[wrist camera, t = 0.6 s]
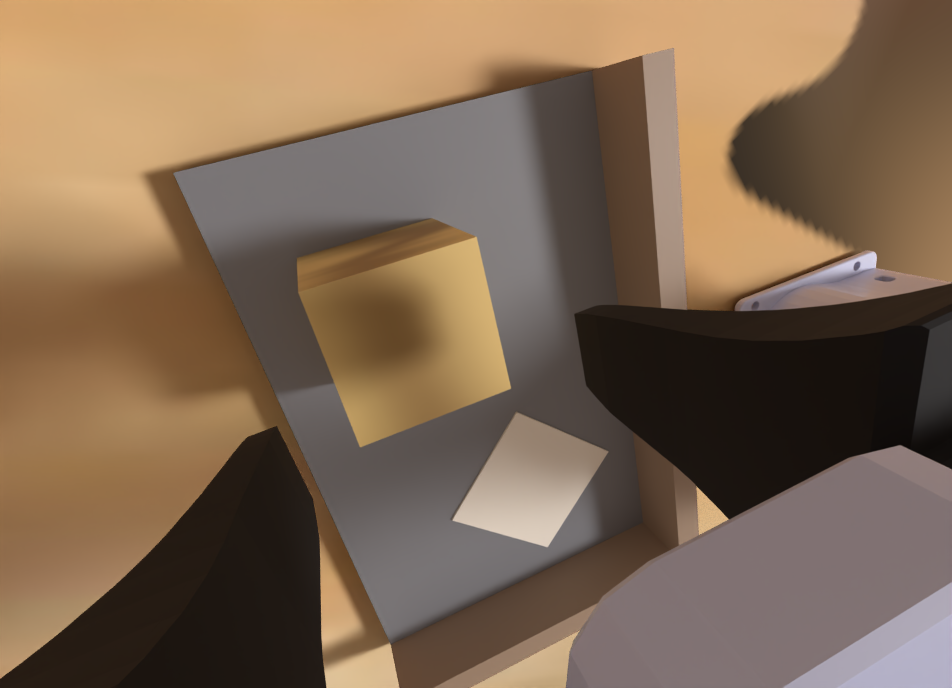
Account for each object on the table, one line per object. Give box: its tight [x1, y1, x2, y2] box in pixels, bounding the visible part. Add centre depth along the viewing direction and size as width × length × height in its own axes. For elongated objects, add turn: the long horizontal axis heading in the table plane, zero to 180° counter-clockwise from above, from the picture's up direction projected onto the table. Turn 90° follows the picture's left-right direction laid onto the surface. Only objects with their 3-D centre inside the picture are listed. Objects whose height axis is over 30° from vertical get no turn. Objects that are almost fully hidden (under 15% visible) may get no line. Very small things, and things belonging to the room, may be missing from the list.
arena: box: [173, 48, 699, 688], centre depth 21 cm, size 16×24×4 cm, turn 14°
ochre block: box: [297, 218, 511, 447], centre depth 17 cm, size 5×5×5 cm
